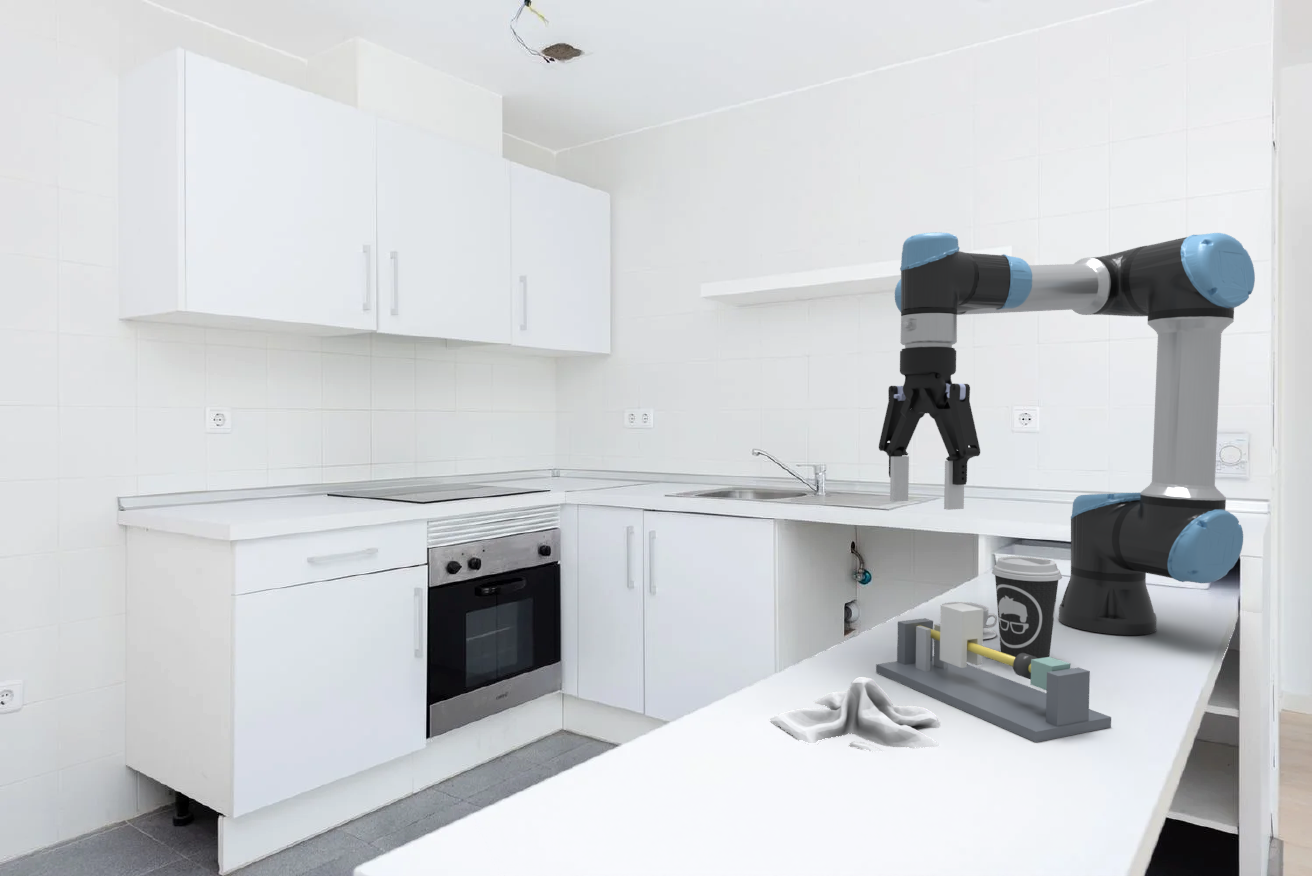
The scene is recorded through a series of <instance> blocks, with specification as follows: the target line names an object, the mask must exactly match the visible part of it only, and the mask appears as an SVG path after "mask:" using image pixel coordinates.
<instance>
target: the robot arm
mask: <svg viewBox="0 0 1312 876" xmlns="http://www.w3.org/2000/svg"><path fill="white" fill-rule="evenodd" d="M900 260H901V262H900V268H899V271H900V279H899V280H898V282H897V284H896V285H895V289H894V302H895V305H896V307H897V309H898V311H899V312H900V344H901V345H902V346H904V348H901V350H900V352H899V373H900V374H901V375H902V376H904V378H905V379H904V382H903V385H890V386H888V403H887V407H886V412H885V416H884V420H883V425H882V429H881V434H880V439H879V442H878V450H879V451H880V452H885V453H886V455H887V456H888V476H889V478H890V480H889V483H890V484H889V501H890V502H908V501H909V476H910V475H909V474H910V473H909V471H910V465H909V464H910V463H909V462H910V457H909V456H908V455H909V453H908V451H907V449H908V447H909V444H910V442H911V440H912V439H913V436H914V433H915V431H916V429H917V426H918V424H919V421H920V420H921V418H923V417H924V416H925V415H926V414H929V416H930V417H931V418H932V419H933V420H934V422H935V425H936V427H937V430H938V432H939V435H940V438H941V439H942V442H943V445H944V447H945V449H946V451H947V454H948V456H947V457H946V458H945V461H944V499H943V500H944V502H943V509H944V510H946V511H948V510H964V508H965V507H964V505H965V504H964V503H965V502H964V501H965V500H964V499H965V486H966V485H967V481H968V480H967V479H968V462H969V460H970V459H972V458H974V457H979V456H980V454H981V447H980V443H979V439H978V434H977V429H976V425H975V420H974V415H973V411H972V407H971V403H970V394H971V386H970V384H968V383H953V381H952V375H955V374H956V372H957V349H956V348H954V347H953V345H956V344H957V343H958V342H957V341H958V340H957V339H958V337H957V336H958V329H957V328H958V318H957V317H958V316H960V315H961V316H962V315H963V316H964V315H979V314H980V315H982V314H985V315H986V314H1000V313H1001V314H1004V313H1023V312H1024V313H1025V312H1027V313H1028V312H1046V311H1047V312H1049V311H1066V310H1067V311H1068V310H1071V311H1073V312H1074V313H1076V314H1078V315H1081V316H1082V315H1083V316H1090V315H1092V316H1093V315H1096V316H1097V315H1098V316H1099V315H1101V316H1119V317H1120V316H1121V317H1147V325H1148V327H1150V328H1152V329H1153V330H1154V332H1155V333H1156V335H1157V346H1156V347H1157V349H1156V350H1157V351H1156V373H1155V391H1154V392H1155V396H1154V399H1155V400H1154V421H1153V442H1152V443H1153V445H1152V470H1151V482H1150V484H1148V485H1147V486H1146V487H1145V488H1143V490H1142V491H1140V492H1120V493H1119V492H1118V493H1095V494H1093V493H1091V494H1079V495H1078V496H1077V497H1075V498H1074V500H1073V502H1072V510H1071V511H1072V512H1071V516H1070V579H1069V580H1068V582H1067V586H1066V588H1065V592H1064V594H1063V598H1062V599H1061V603H1060V604H1059V606H1058V621H1059V622H1060V623H1062V624H1063V625H1066V626H1067V627H1071V628H1075V629H1079V630H1083V631H1086V632H1088V631H1089V632H1093V633H1099V634H1100V633H1101V634H1109V635H1110V634H1111V635H1117V636H1118V635H1119V636H1121V635H1122V636H1142V635H1149V634H1152V633H1155V632H1156V631H1157V622H1158V621H1157V614H1156V613H1155V610H1154V606H1153V604H1152V600H1151V596H1150V594H1149V591H1148V588H1147V581H1146V580H1147V579H1146V577H1147V575H1146V574H1149V575H1154V576H1159V577H1165V578H1168V579H1169V578H1170V579H1173V580H1176V581H1178V582H1182V583H1185V582H1189V583H1196V584H1210V583H1215V582H1217V581H1218V580H1220V579H1222V578H1224V577H1226V575H1228V573H1229V571H1230V570H1232V569H1233V568H1234V567H1235V565H1236V564H1237V562H1238V560H1239V558H1240V555H1241V553H1242V549H1243V544H1244V531H1243V527H1242V525H1241V524H1240V521H1239V519H1238V517H1237V516H1236V515H1234V514H1233V513H1231V512H1229V510H1226V505H1227V504H1226V503H1227V499H1226V496H1225V495H1224V494H1223V493H1222V492H1221V491H1220V490H1219V489H1218V488H1217V486H1216V466H1217V465H1216V464H1217V444H1218V442H1217V440H1218V419H1219V417H1218V416H1219V396H1220V393H1219V392H1220V378H1221V377H1220V376H1221V375H1220V374H1221V373H1220V372H1221V371H1220V369H1221V353H1222V351H1221V350H1222V349H1221V348H1222V334H1223V332H1224V331H1225V330H1226V329H1227V328H1228V327H1229V326H1230V325H1231V324H1233V323H1234V320H1235V319H1234V318H1235V317H1234V315H1235V308H1236V307H1239V306H1241V305H1242V304H1245V302H1247V301H1248V299H1249V298H1250V295H1252V293H1253V291H1254V287H1255V279H1256V278H1255V276H1256V275H1255V274H1256V273H1255V267H1254V264H1253V261H1252V258H1251V256H1250V255H1249V252H1248V250H1247V249H1246V248H1244V246H1243V244H1242V243H1241V242H1240V241H1239V240H1237V239H1236V238H1235V237H1233V236H1231V235H1229V234H1226V233H1221V232H1211V233H1204V234H1203V233H1202V234H1191V235H1189V236H1186V237H1182V238H1181V237H1180V238H1176V239H1173V240H1167V241H1164V242H1163V241H1162V242H1158V243H1153V244H1149V245H1144V246H1138V247H1134V248H1130V249H1128V250H1123V251H1119V252H1115V253H1111V254H1107V255H1102V256H1095V257H1084V258H1080V259H1079V260H1077V261H1075V262H1074V263H1063V264H1037V265H1036V264H1033V265H1031V264H1029V263H1028V262H1027V261H1026V260H1024V259H1023V258H1021V257H1016V256H1010V255H1007V254H1005V253H1003V254H989V253H973V252H963V251H960V247H959V239H958V237H957V235H955V234H951V233H948V232H923V233H918V234H915V235H911V236H909V237H907V238H906V239H905V241H904V242H903V245H902V252H901V259H900Z"/></svg>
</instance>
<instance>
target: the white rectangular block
mask: <svg viewBox="0 0 1312 876" xmlns="http://www.w3.org/2000/svg"><path fill="white" fill-rule="evenodd" d="M939 620H940V623H939V624H940V660H942V661H944V662H947V663H950V664H952V665H955V666H958V667H960V668H964V667H967V664H968V663H969V664H970V665H971V664H972V665H973V666H974V665H975V666H978V667H979V666H982V665H983V656H981V655H978V654H976V653H973V652H970V651H967V641H969V642H972V643H975V644H978V645H981V646H984V639H983V609H981V608H977V607H974V606H970V605H967V604H963V603H957V604H947V605H942V604H941V605H940V619H939Z"/></svg>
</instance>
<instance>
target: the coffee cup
mask: <svg viewBox="0 0 1312 876" xmlns="http://www.w3.org/2000/svg"><path fill="white" fill-rule="evenodd" d="M991 574H992V575H994V578H995V579H994V580H995V590H996V603H997V604H996V605H997V617H998V618H997V622H998V631H999V633H998V634H999V648H1000V652H1002V653H1005V654H1008V655H1011V656H1014V657H1016V656H1017V655H1018V654H1020V653H1025V654H1028V655H1031V656H1035V657H1037V658H1038V659H1039V658H1045V657H1051V655H1050V653H1051V645H1052V639H1053V638H1052V636H1053V629H1054V627H1053V626H1054V621H1055V611H1056V603H1057V593H1058V587H1059V580H1062V578H1063V576H1062V572H1061V571H1060V569H1059V568H1058V565H1057V562H1055V561H1054V560H1051V559H1046V558H1040V557H1033V556H1032V557H1031V556H1017V555H1016V556H1002V557H999V558H998V559H997V562H996V564H995V565H994V566H993V567H992V570H991Z"/></svg>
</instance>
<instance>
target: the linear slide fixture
mask: <svg viewBox="0 0 1312 876" xmlns="http://www.w3.org/2000/svg"><path fill="white" fill-rule="evenodd" d="M933 628H934V630H933ZM896 639H897V640H896V641H897V645H896V646H897V647H896V648H897V649H896V653H897V654H896V661H891V662H882V663H877V664H876V665H875V667H876V668H875V669H876V670H875V673H876V674H879V675H881V676H883V677H885V678H888V679H889V680H892V681H894V682H897V683H899V684H902V685H904V686H906V687H908V688H910V689H913V690H915V691H918V692H919V693H922V694H924V695H926V696H928V697H932V698H933V699H936V700H938V701H940V702H942V703H945V704H947V705H950V706H951V707H954V708H956V709H958V710H961V711H963V712H965V713H968V714H970V715H973V716H975V717H977V718H979V719H982V720H984V721H986V722H988V723H991V724H993V725H995V726H998V727H1000V728H1002V729H1005V730H1006V731H1009V732H1010V733H1014V734H1016V735H1018V736H1020V737H1022V738H1024V739H1027V740H1029V741H1032V742H1034V743H1038V742H1039V743H1040V742H1044V741H1049V740H1054V739H1058V738H1059V739H1060V738H1064V737H1065V738H1066V737H1069V736H1074V735H1080V734H1084V733H1089V732H1094V731H1098V730H1099V731H1100V730H1103V729H1108V728H1112V716H1109V715H1107V714H1104V713H1102V712H1098V711H1096V710H1093V709H1090V682H1091V681H1090V679H1091V675H1090V670H1088V669H1084V668H1081V667H1071V663H1069V662H1067V661H1063V660H1061V659H1058V658H1054V657H1051V656H1049V657H1045V658H1039V659H1038V658H1037V657H1035V656H1031V655H1028V654H1025V653H1020V654H1018V655H1017V656H1016V657H1014V656H1011V655H1008V654H1005V653H1002V652H1001V651H998V650H995V649H992V648H989V647H987V646H984V645H983V646H981V645H978V644H975V643H972V642H969V641H967V651H970V652H973V653H976V654H978V655H981V656H982V657H983V658H984V657H985V658H987V659H991V660H993V661H996V662H999V663H1001V664H1005V665H1007V666H1010V667H1012V668H1013V672H1014V673H1015V675H1017V676H1019V677H1022V678H1025V679H1027V680H1030V685H1031V686H1034V687H1036V688H1039V689H1042V690H1044V691H1041V690H1038V689H1036V688H1033V687H1030V686H1028V685H1025V684H1022V683H1020V682H1017V681H1014V680H1011V679H1009V678H1006V677H1003V676H1001V675H998V674H995V673H992V672H989V671H987V670H984V669H981V668H980V667H979V668H978V667H976V666H974V665H971V664H968V663H967V667H964V668H960V667H958V666H955V665H952V664H950V663H947V662H944V661H942V660H940V623H936V624H935V623H934V620H932V619H929V618H917V619H916V618H915V619H907V620H898V621H897V638H896ZM1045 691H1046V692H1045Z"/></svg>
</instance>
